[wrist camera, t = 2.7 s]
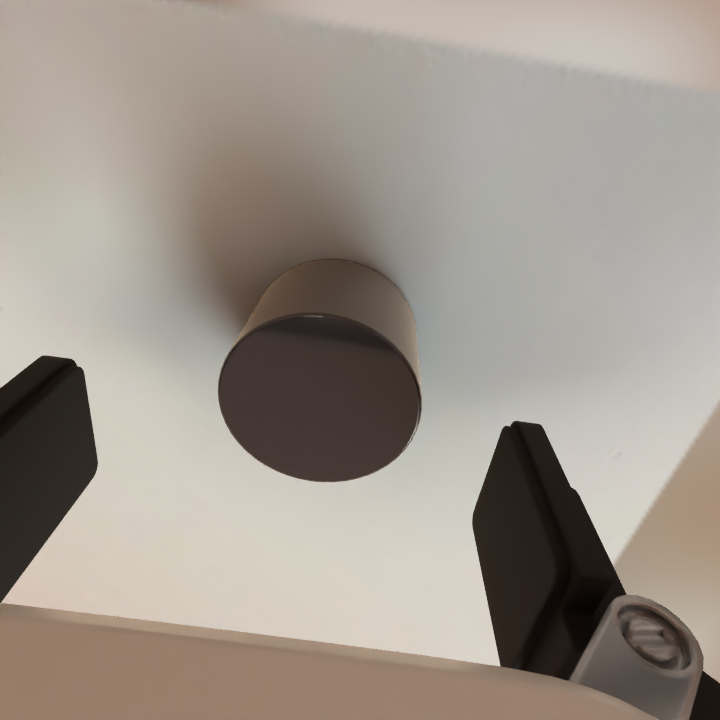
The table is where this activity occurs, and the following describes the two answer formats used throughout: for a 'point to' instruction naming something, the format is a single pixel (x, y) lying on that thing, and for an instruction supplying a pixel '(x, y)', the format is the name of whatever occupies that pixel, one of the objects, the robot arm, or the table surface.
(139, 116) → the table surface
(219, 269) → the table surface
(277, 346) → the dark brown puck
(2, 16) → the table surface
